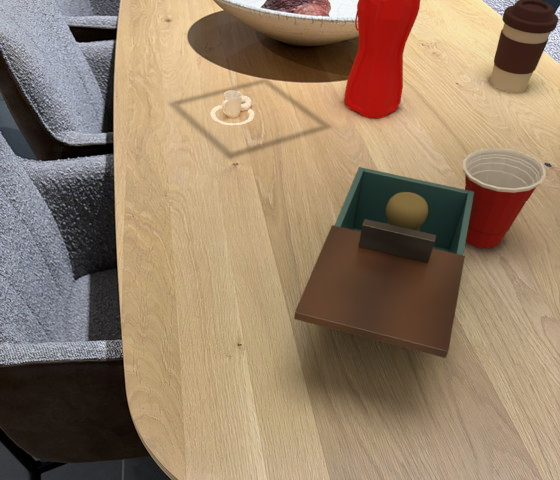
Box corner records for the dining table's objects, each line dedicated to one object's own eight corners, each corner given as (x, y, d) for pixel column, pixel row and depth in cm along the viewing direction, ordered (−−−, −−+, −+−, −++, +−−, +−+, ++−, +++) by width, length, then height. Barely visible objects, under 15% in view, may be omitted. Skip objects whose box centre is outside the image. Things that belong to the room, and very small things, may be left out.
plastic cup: (448, 209, 94) (471, 136, 84) (518, 227, 91) (550, 155, 82) (434, 249, 87) (457, 175, 78) (509, 270, 85) (542, 196, 76)
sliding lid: (462, 262, 69) (472, 233, 66) (445, 358, 59) (457, 330, 56) (330, 231, 71) (335, 202, 68) (293, 319, 62) (296, 290, 58)
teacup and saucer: (243, 101, 112) (243, 79, 109) (266, 120, 108) (267, 97, 105) (202, 112, 109) (201, 89, 106) (224, 132, 105) (224, 109, 102)
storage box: (453, 252, 87) (474, 191, 79) (439, 324, 77) (461, 263, 69) (348, 227, 89) (358, 166, 81) (321, 295, 79) (331, 232, 72)
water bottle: (360, 88, 118) (384, -64, 99) (405, 110, 114) (439, -46, 95) (329, 102, 114) (348, -54, 95) (374, 125, 109) (403, -35, 90)
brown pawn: (361, 265, 82) (375, 196, 74) (390, 248, 85) (407, 179, 77) (394, 289, 80) (412, 219, 71) (423, 270, 82) (444, 201, 74)
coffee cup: (538, 85, 124) (569, 4, 112) (522, 103, 118) (552, 19, 107) (493, 71, 127) (518, -9, 115) (475, 87, 121) (499, 5, 110)
